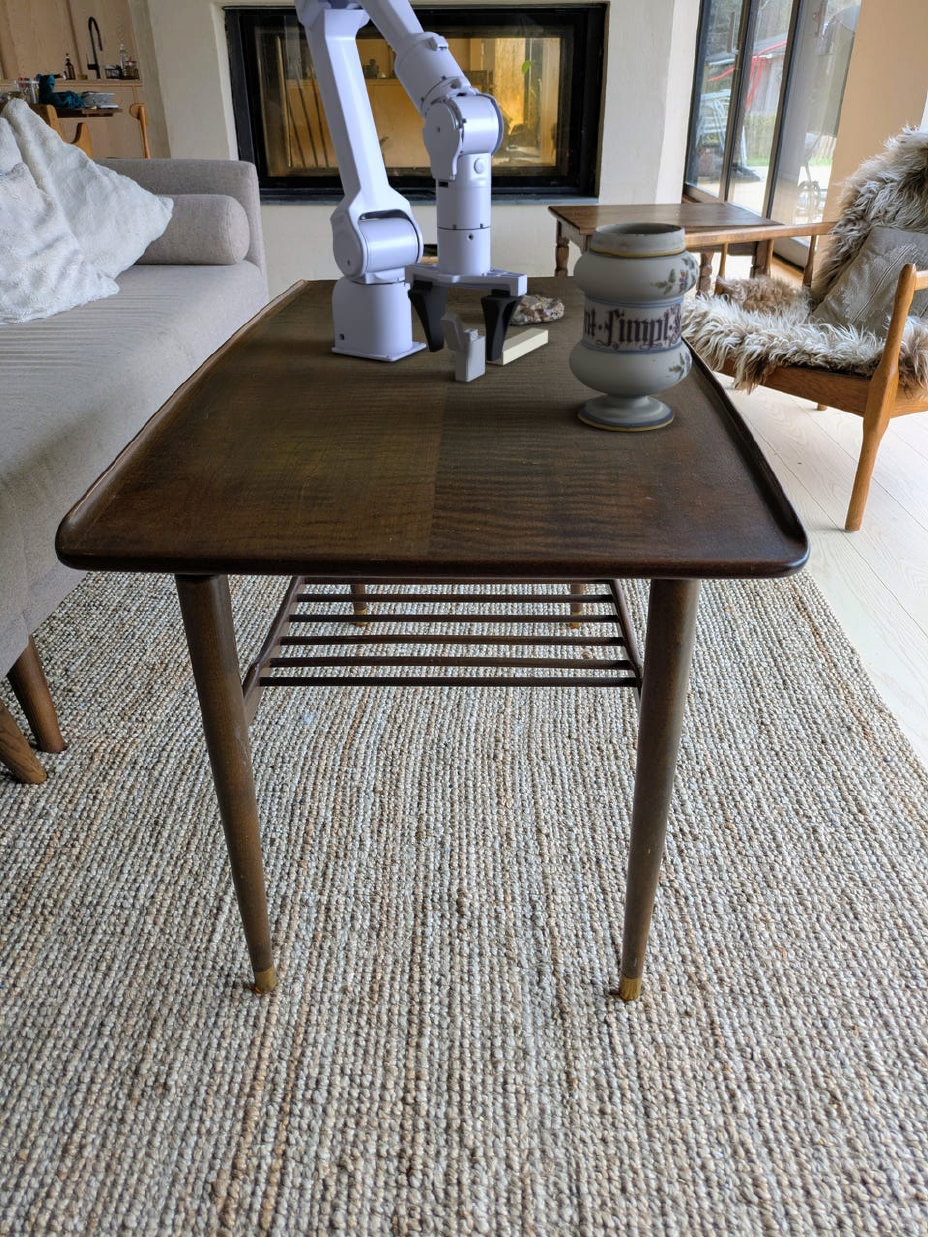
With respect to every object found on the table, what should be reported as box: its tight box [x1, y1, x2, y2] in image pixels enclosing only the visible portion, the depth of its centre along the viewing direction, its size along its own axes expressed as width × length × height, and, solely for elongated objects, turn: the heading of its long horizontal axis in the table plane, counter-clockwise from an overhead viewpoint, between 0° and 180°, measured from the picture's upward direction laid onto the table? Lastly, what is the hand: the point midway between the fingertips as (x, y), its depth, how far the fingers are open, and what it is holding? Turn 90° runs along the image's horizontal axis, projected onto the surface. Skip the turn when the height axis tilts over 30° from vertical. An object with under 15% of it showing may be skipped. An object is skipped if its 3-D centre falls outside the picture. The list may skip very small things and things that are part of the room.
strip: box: [485, 327, 549, 366], centre depth 113 cm, size 2×12×2 cm, turn 149°
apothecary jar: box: [568, 221, 701, 433], centre depth 88 cm, size 12×12×18 cm
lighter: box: [440, 311, 486, 383], centre depth 102 cm, size 7×2×8 cm, turn 149°
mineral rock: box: [510, 293, 566, 326], centre depth 128 cm, size 11×4×8 cm
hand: (464, 354), depth 103 cm, fingers open, 7 cm apart
